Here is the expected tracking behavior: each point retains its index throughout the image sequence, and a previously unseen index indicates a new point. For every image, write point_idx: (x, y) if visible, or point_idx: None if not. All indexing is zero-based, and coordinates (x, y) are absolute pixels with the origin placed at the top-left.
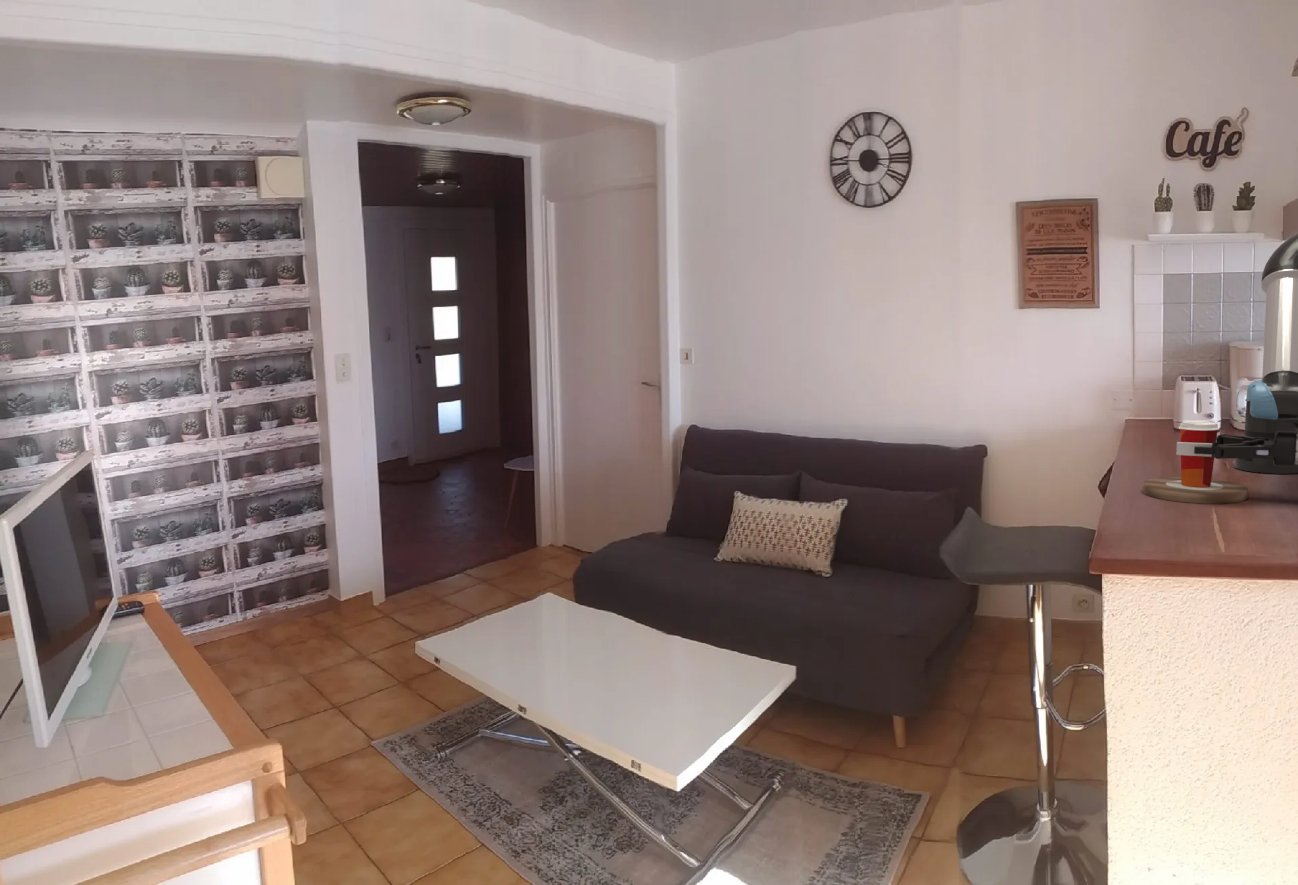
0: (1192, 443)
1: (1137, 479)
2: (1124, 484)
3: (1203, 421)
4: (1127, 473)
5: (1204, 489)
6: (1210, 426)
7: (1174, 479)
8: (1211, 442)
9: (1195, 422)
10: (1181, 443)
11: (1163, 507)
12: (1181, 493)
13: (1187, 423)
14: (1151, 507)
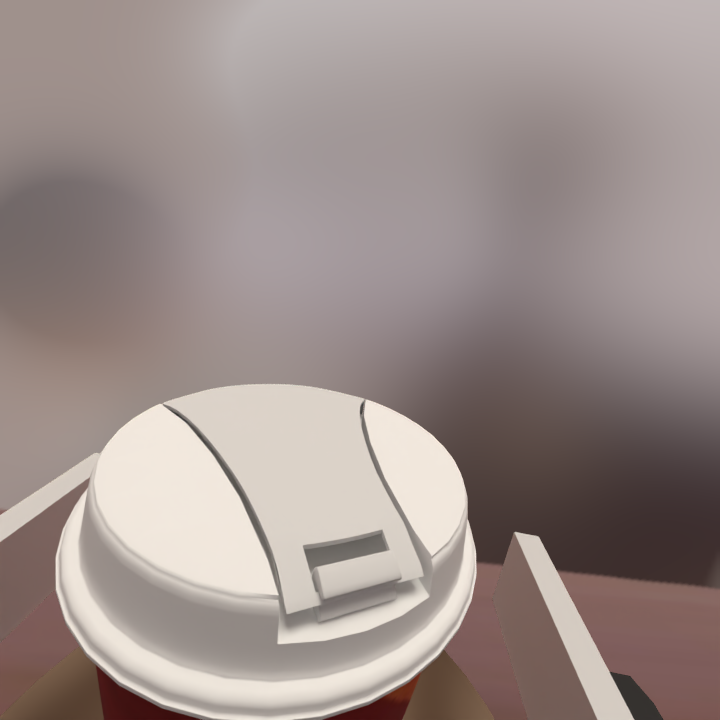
0: (7, 514)
1: (608, 622)
2: (484, 577)
3: (410, 487)
4: (687, 601)
5: None
6: (83, 520)
7: (422, 709)
8: (107, 715)
9: (287, 427)
10: (71, 471)
11: (44, 671)
12: (7, 713)
13: (218, 389)
14: (62, 623)
